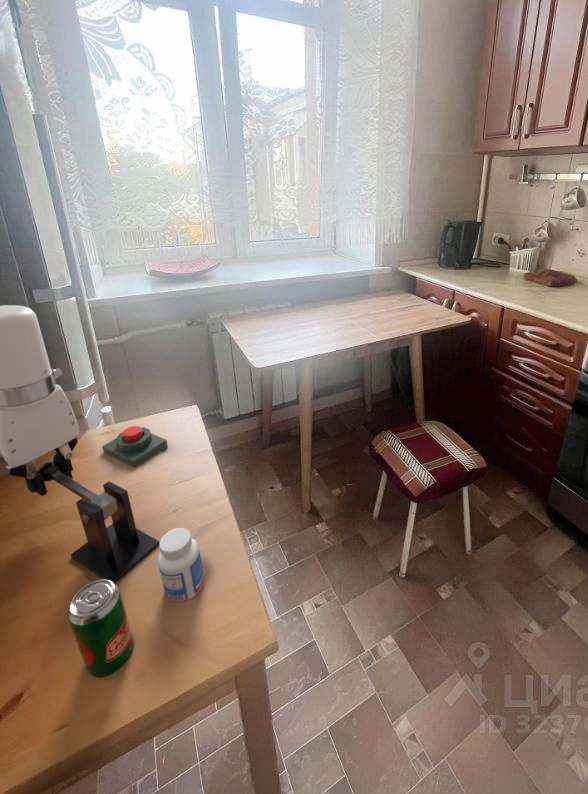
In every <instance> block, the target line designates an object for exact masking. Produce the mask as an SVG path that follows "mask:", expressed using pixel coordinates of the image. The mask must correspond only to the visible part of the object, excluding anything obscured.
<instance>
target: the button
mask: <svg viewBox="0 0 588 794" xmlns="http://www.w3.org/2000/svg"><path fill="white" fill-rule="evenodd" d="M122 432H123V438H124V441H125V442H133V441H137V440H139V439H140V438H142V437H143V433H142V428H141V426H139V425H134V426H128V427H126V428H125V429H124V430H123V431H122Z"/></svg>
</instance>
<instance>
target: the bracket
mask: <svg viewBox="0 0 588 794" xmlns="http://www.w3.org/2000/svg"><path fill="white" fill-rule="evenodd" d="M102 487H103V492H106V493H108V494H109V495H111V496H113V497H114V498H116V501H117V505H118V511H117V512H115V513H114V514H112V515H111V516H110V517H111V521H112V523H111V524H109V525H108V526H107V525H106V522H105V521H106V520H104V518H103V514H102V510H101V509H100V508H99V507H97V506H95V505H94V504H92V503H90V502H88V501H87V500H85V499H83V498H80V499H79V500H77V501H76V502H75V504H76V508H77V512H78V514H79V518H80V520H81V524H82V527H83V530H84V534H85V537H86V541H87V542H85V543H84V544H83V545H81V546H80V547H79V548H78V549H76V550H75V551H73V552H72V553H71V554H70V557H71V559H73V560H74V561H76V562H77V563H78V564H80V565H81V566H82V567H84V568H86V569H87V570H89V571H90V572H91V573H93V574H94V575H96V576H97V577H99V578H100V579H106V580H110V581H111V582H112V583H114V584H117V583H118V582H119V581H120V580H122V579H123V577H125V576H126V575H127V574H128V573H129V572H130V571H131V570H133V569H134V568H135V567H136V566H137V565H139V564H140V563H141V562H142V561H143V560H144V559H145V558H147V557H148V555H149V554H151V552H153V551H154V550H155V549H156V548H158V546H159V543H160V540H158V539H157V538H154V537H152V536H150V535H149V534H148V533H146V532H144V531H142V530H140V529H139V528H137V526H136V522H135V518H134V514H133V510H132V509H133V508H132V505H131V500H130V497H129V496H130V495H129V493H128V490H127V489H125V488H123V487H121V486H120V485H117V484H115V483H113V482H112V481H110V480H108V481H107V482H105V483H103V484H102ZM159 547H160V546H159Z"/></svg>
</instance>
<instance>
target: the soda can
mask: <svg viewBox="0 0 588 794" xmlns="http://www.w3.org/2000/svg"><path fill="white" fill-rule="evenodd" d="M124 603H125V602H124V600H123V596H122V593H121V589H120V587H119V586H118V585H117V583H115V584H114V583H112V582H111V581H110V580H106V579H102V578H100V579H96V580H93V581H91V582H89V583H87V584H86V585H84V586H83V587H81V588H80V589H79V590H78V591H77V592H76V593H75V594H74V596H73V598H72V599H71V601H70V604H69V609H68V613H67V619H68V622H69V625H70V628H71V630H72V633H73V637H74V639H75V642H76V644H77V646H78V649H79V652H80V655H81V657H82V660H83V663H84V666H85V669H86V672H87V673H88V675H90V676H91V677H93V678H97V679H98V678H105V677H108V676H111V675H112V674H114V673H116V672H118V671H119V670H120V669H121V668H122V667H123V666H124V665H125V664H126V663H127V662H128V661H129V659H130V657H131V655H132V654H133V651H134V649H135V639H134V636H133V632H132V628H131V624H130V621H129V618H128V614H127V610H126V607H125V604H124Z"/></svg>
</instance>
